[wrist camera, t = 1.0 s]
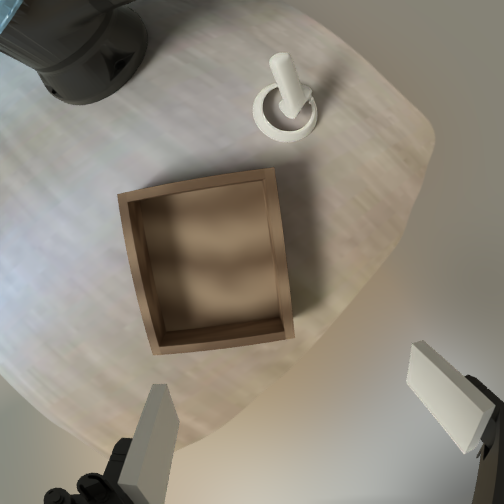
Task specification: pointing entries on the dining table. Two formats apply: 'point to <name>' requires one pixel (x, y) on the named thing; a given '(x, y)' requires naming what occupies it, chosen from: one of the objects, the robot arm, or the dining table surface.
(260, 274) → the wooden tray
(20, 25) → the robot arm
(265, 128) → the hook
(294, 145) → the dining table surface
